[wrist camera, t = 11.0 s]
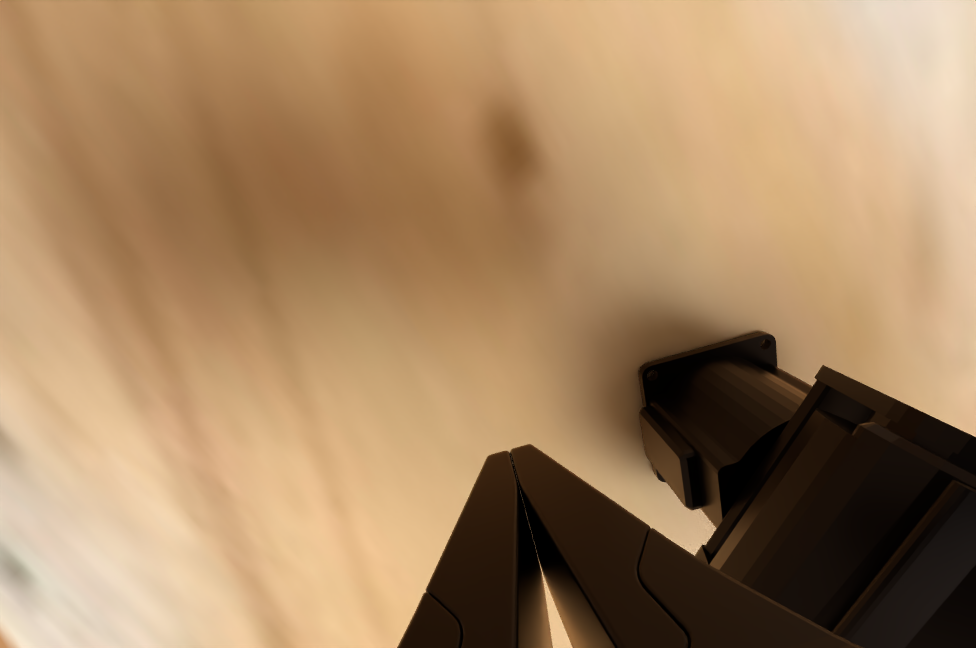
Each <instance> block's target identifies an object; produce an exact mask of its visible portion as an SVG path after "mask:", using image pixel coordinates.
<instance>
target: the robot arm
mask: <svg viewBox="0 0 976 648" xmlns="http://www.w3.org/2000/svg"><path fill="white" fill-rule="evenodd" d="M763 340H765V343H764V344H763V345H762V346H760V345H761V342H762V341H763ZM653 370H654V374H653V375H652V376H650V377H647V374H648V373H649V372H650V371H653ZM815 379H817V381H816V382H815V384H814V385H813V387H812V386H811V385H809V384H807V383H805V382H803V381H801V380H800V379H798V378H796V377H794V376H792V375H790V374H789V373H787V372H785V371H783V370H781V369H779V368H778V367H777V354H776V340H775V338H774V337H773V336H772V335H770V334H768V333H766V332H757V333H754V334H750V335H746V336H743V337H739V338H735V339H732V340H728V341H724V342H721V343H717V344H713V345H710V346H706V347H702V348H699V349H695V350H692V351H688V352H684V353H681V354H677V355H673V356H670V357H666V358H662V359H659V360H655V361H651V362H648V363H645V364H643V365H642V366H641V367H640V369H639V381H640V388H641V394H642V401H643V407H642V408H641V410H640V412H639V417H640V423H641V429H642V435H643V442H644V448H645V454H646V456H647V457H648V459H649V460H650V461H651V463H652V464H653V471H654V474H655V475H656V477H657V478H658V479H659V480H660V481H662V482H667V484H668V485H669V486H670V487H671V489H672V490H673V491H674V493H675V494H676V495H677V497H678V498H679V499H680V501H681V502H682V503H683V504H684V506H685V507H687V508H689V509H690V510H695V509H699V508H700V509H701V510H702V511H703V512H704V514H705V515H706V516H707V517H708V518H709V520H710V521H711V522H712V523H713V525H714V526H715V527H716V528H717V529H716V531H715V532H714V534H713V535H712V536H711V538H710V539H709V541H708V542H707V544H706V545H702V546H701V547H700V549H699V550H698V552H697V553H696V555H695V556H694V555H692V554H691V553H689V552H688V551H686V550H685V549H683V548H682V547H680V546H678V545H677V544H675V543H674V542H672V541H671V540H669V539H668V538H666V537H665V536H663V535H662V534H661V533H659V532H658V531H656V530H655V529H653V528H650V526H649V525H647V524H646V523H644V522H643V521H641V520H640V519H639V518H637V517H636V516H634V515H633V514H631V513H630V512H628V511H627V510H626V509H624V508H623V507H621V506H620V505H618V504H617V503H615V502H614V501H613V500H611V499H610V498H608V497H607V496H605V495H604V494H602V493H601V492H599V491H598V490H597V489H595V488H594V487H592V486H591V485H589V484H588V483H586V482H585V481H584V480H582V479H581V478H579V477H578V476H576V475H575V474H573V473H572V472H571V471H569V470H568V469H566V468H565V467H563V466H562V465H560V464H559V463H557V462H556V461H555V460H553V459H552V458H550V457H549V456H547V455H546V454H544V453H543V452H542V451H540V450H539V449H537V448H536V447H534V446H533V445H531V444H528V445H524V446H520V447H517V448H513V449H512V450H511V452H510V453H509V452H508V451H502V452H499V453H495V454H492V455H489V456H488V457H487V459H486V461H485V463H484V465H483V467H482V469H481V471H480V474H479V476H478V478H477V480H476V482H475V484H474V487H473V489H472V491H471V493H470V495H469V497H468V500H467V502H466V504H465V506H464V508H463V510H462V512H461V515H460V517H459V519H458V521H457V523H456V525H455V528H454V530H453V532H452V534H451V536H450V538H449V541H448V543H447V545H446V547H445V549H444V551H443V553H442V556H441V558H440V560H439V562H438V564H437V566H436V569H435V571H434V573H433V575H432V577H431V579H430V582H429V584H428V586H427V588H426V593H424V594H423V596H422V598H421V600H420V603H419V605H418V607H417V609H416V611H415V613H414V615H413V617H412V619H411V621H410V623H409V625H408V627H407V629H406V631H405V633H404V635H403V637H402V639H401V641H400V643H399V645H398V647H397V648H553V646H552V639H551V632H550V625H549V618H548V611H547V604H546V597H545V590H544V583H543V578H542V572H543V575H544V577H545V580H546V583H547V585H548V588H549V590H550V593H551V595H552V598H553V600H554V603H555V605H556V608H557V610H558V613H559V615H560V617H561V620H562V622H563V625H564V627H565V630H566V632H567V635H568V637H569V640H570V642H571V645H572V647H573V648H976V437H974V436H972V435H970V434H968V433H966V432H964V431H961V430H959V429H957V428H955V427H953V426H951V425H949V424H947V423H945V422H942V421H940V420H938V419H936V418H934V417H932V416H930V415H928V414H926V413H923V412H921V411H919V410H917V409H915V408H913V407H911V406H909V405H906V404H904V403H902V402H900V401H898V400H896V399H894V398H892V397H890V396H887V395H885V394H883V393H881V392H879V391H877V390H875V389H873V388H870V387H868V386H866V385H864V384H862V383H860V382H858V381H856V380H854V379H851V378H849V377H847V376H845V375H843V374H841V373H839V372H837V371H835V370H832V369H830V368H828V367H826V366H824V365H823V366H822V367H821V369H820V370H819V372H818V373H817V375H816V376H815ZM510 454H511V455H510ZM511 458H512V459H511ZM512 462H513V463H512ZM513 465H514V466H513ZM514 469H515V470H514ZM515 473H516V474H515ZM517 480H518V481H517ZM518 484H519V485H518ZM520 491H521V492H520ZM521 495H522V496H521ZM522 499H523V500H522ZM524 506H525V507H524ZM525 510H526V511H525ZM526 514H527V515H526ZM527 517H528V518H527ZM528 521H529V522H528ZM529 525H530V526H529ZM530 529H531V530H530ZM531 532H532V533H531ZM532 536H533V537H532ZM533 540H534V541H533ZM534 543H535V545H534ZM535 547H536V548H535ZM536 551H537V552H536ZM537 555H538V556H537ZM538 558H539V559H538ZM539 562H540V564H539ZM540 565H541V568H542V572H541V568H540Z"/></svg>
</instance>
